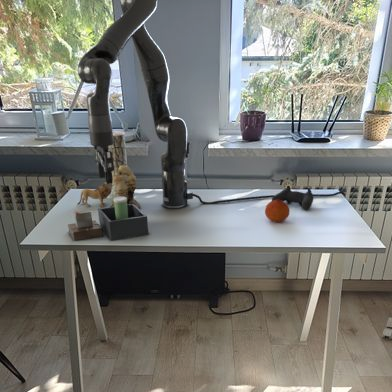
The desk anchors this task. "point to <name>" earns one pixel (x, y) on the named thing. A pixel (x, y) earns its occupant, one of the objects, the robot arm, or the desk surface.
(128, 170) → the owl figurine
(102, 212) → the gray open box
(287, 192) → the gaming controller
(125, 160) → the birch log
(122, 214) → the green tube
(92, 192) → the lion figurine
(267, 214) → the fruit
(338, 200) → the desk surface
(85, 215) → the tap knob
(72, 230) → the panel
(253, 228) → the desk surface
